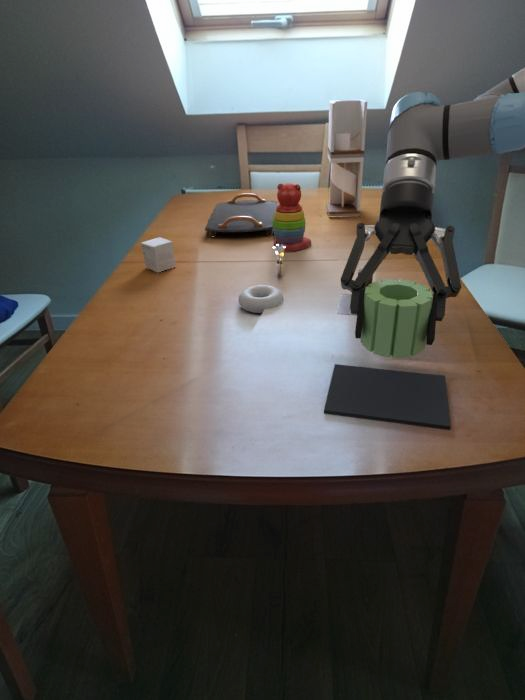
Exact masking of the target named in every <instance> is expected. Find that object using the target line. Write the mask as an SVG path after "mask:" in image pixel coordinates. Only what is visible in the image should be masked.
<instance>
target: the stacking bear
mask: <svg viewBox="0 0 525 700" xmlns="http://www.w3.org/2000/svg"><path fill="white" fill-rule="evenodd" d="M276 189H277V193H276V197H277V202H278V205H277V207H276V210H275V213H274V218H273V229H272V230H273V236H274V241H273V247H274V246H276V244H277V245H278V243H279V246H281V244H283V246H285V249H284V253H285V252H287V253H289V252H290V253H291V252H298V251H302V250H304V249H306V248H308V247H310V246H311V245H312V240H311V239H310V238H309V237H306V236H304V235H305V232H306V224H307V223H306V217H305V212H304V209H303V207H302V205H301V204H300V201H301V199H302V190H301V189H302V188H301V185H299V184H297V183H296V184H294V183H284V184H283V183H279V184H277V188H276ZM282 249H283V248H282Z"/></svg>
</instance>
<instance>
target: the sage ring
mask: <svg viewBox="0 0 525 700" xmlns="http://www.w3.org/2000/svg"><path fill="white" fill-rule="evenodd" d="M432 301H433V291H432V290H431V288H429V287H427V286H426V285H424V284H422V283H418V282H417V281H413V280H407V279H402V278H401V279H399V280H398V279H397V278H390V279H389V278H388V279H381V281H380V280H376V281H373V282H372V283H371V284H369V285H368V287H366V289H365V295H364V309H363V322H362V332H361V339H360V343H361V345H362V346H363V347H364V348H365V349H366V350H367V351H369V352H370V353H372V352H373V355H377V356H381V357H385V358H388V359H389V358H390V357H391V356H392V358H393V359H404V358H410V357H411V356H412V357H415V356H417V355H418V354H421V353H422V352H424V349H425V348H426V339H427V330H428V324H429V318H430V312H431V307H432Z"/></svg>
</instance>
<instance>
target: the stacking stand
mask: <svg viewBox="0 0 525 700" xmlns="http://www.w3.org/2000/svg"><path fill="white" fill-rule="evenodd" d="M362 269H363V268H360V269H358V271H357V276H358V275H359V274H360V272H361V271H362ZM373 279H374V274H373V275H372V277H371V278H370V280H369V281H368V283H367V284H366V286H365V287H364V289H366V287H368V285H369V284H371V283H373ZM351 295H352V293H341V296H340V299H339V303H338V305H337V310H336V315H346V316H357V314H351V311H350V304H351Z"/></svg>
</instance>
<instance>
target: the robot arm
mask: <svg viewBox="0 0 525 700" xmlns="http://www.w3.org/2000/svg"><path fill="white" fill-rule="evenodd" d="M523 149H525V67H523V68H522V69H520V70H518V71H517V72H515V73H514V74H512V75H511V76H510V77H508V78H506V79H505V80H503V81H501V82H500V83H498V84H496V85H494V86H493V87H492V88H490V89H488V90H486V91H483V92H481V93H480V94H478V95H477V96H475V97H474V98H473V99H472V100H468V101H464V102H460V103H454V104H447V105H445V104H442V103H441V101H440V99H439V98H438V97H437V95H434V94H433V93H430V92H428V93H423V92H422V91H415V92H410V93H408V94H406V95H404V96H403V97H401V98H400V99H398V101H396V103H395V104H394V106H393V107H392V110H391V115H390V121H389V126H388V129H387V145H386V155H385V164H384V165H385V166H384V170H383V181H382V191H381V193H382V194H381V197H380V205H379V215H378V220H377V221H376V222H375V224H368V225H365V223H364V222H358V223H357V224H356V237H355V239H354V243H353V245H352V248H351V250H350V253H349V255H348V258H347V261H346V264H345V267H344V268H343V271H342V273H341V277H340V287H341V289H342V290H343V291H344V290H347V291H349V292H350V294H352V295H351V304H350V311H351V314H357V315H356V322H355V329H354V330H355V331H354V336H355V337H354V338H355V339H359V340H361V332H362V322H363V309H364V295H365V289H364V287H365V286H366V284H367V283H368V281H369V280H370V278H371V277H372V275H373V276H374V274H375V273H376V271H377V270H378V269H379V267H380V266H381V264H382V262H384V260H385V259H386V258H387V256H388V255H389V254H390V255H399V254H400V255H401V254H402V255H406V256H413V255H414V257H415V260H416V261H417V262H418V264H419V266H420V268H421V270H422V272H423V274H424V276H425V279H426V281H427V283H428V285H429V287H430V290H431V291H432V294H433V301H432V307H431V312H430V318H429V324H428V330H427V337H426V343H425V346H433V344H434V342H435V340H436V339H435V337H436V326H437V322H442V321H443V319H444V317H445V316H446V306H447V299H448V298H449V299H450V298H456V297H457V296H458V295H459V293H460V291H461V289H462V282H461V277H460V273H459V268H458V267H459V266H458V262H457V258H456V252H455V246H454V242H453V240H454V236H455V230H456V229H455V226H454V225H448V226H446V228H444V227H443V228H442V227H436V226H435V224H434V222H433V213H434V211H433V210H434V199H435V194H434V193H435V187H436V173H437V163H438V162H439V161H449V160H453V159H461V158H470V157H479V156H480V157H481V156H487V155H488V156H489V155H503V154H504V153H510V152H516V151H521V150H523ZM373 235H375V236H376V237H377V239H378V240H379V243H378V245H377V247H376V249H375V250H374V252H373V253H372V255H371V256H370V257H369V259H368V261H367V262H366V263H365V265H364V266H363V268H361V269H362V271H361V272H360V274H359V275H358V274H357V277H356V278H355V279H353V278H354V275H355V273H356V270H357V267H358V265H359V263H360V260H361V257H362V254H363V252H364V250H365V245H366V242H368V241H370V240H371V237H372V236H373ZM433 237H434V238H435V239H436V243H437V244H438V245H440V253H441V259H442V263H443V270H444V274H445V280H446V284H445V282H444V280H443V278H442V276H441V274H440V272H439V270H438V267H437V265H436V264H435V261H434V259H433V257H432V255H431V253H430V251H429V247H428V245H427V243H428V242H429V241H430V240H431V239H432V238H433Z"/></svg>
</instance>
